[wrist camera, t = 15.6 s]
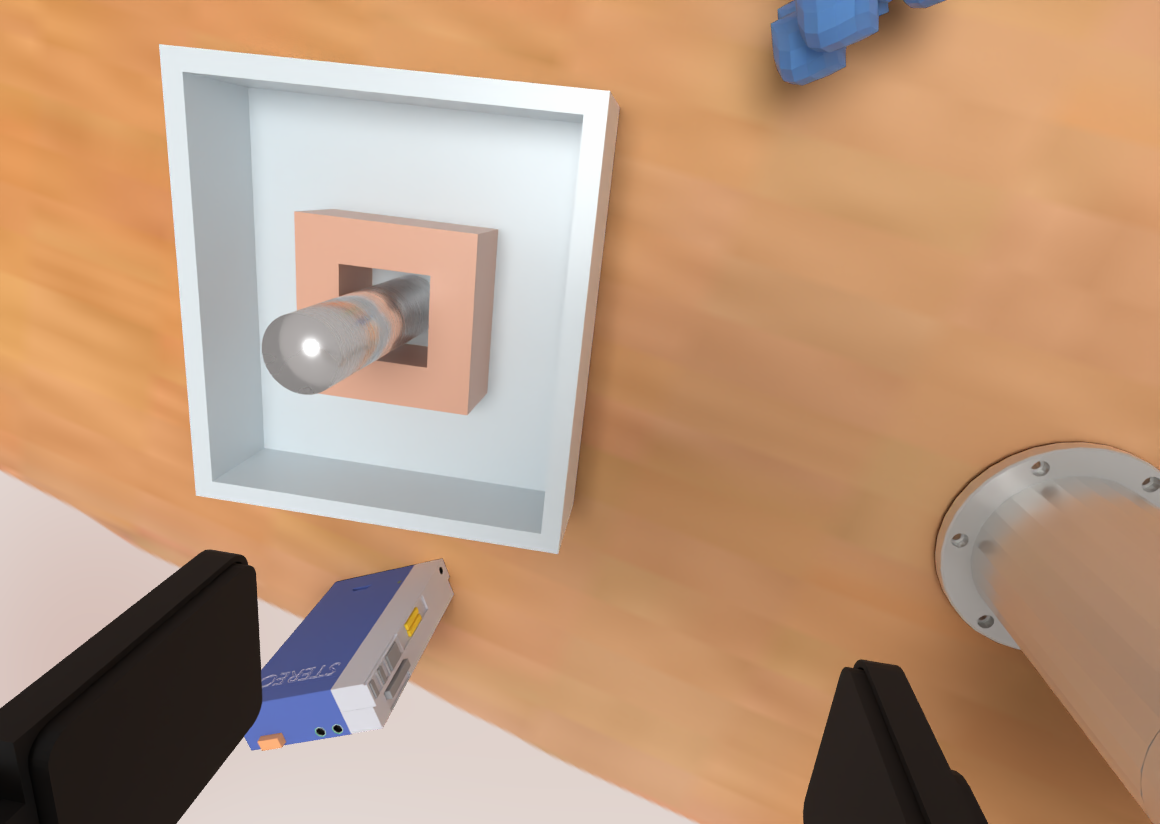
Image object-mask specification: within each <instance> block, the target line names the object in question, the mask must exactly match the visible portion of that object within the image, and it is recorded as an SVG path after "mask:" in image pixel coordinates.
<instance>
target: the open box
mask: <svg viewBox="0 0 1160 824" xmlns="http://www.w3.org/2000/svg"><path fill="white" fill-rule="evenodd" d="M159 48H160V61H161V73H162V85H163V97H164V109H165V122H166V134H167V146H168V158H169V170H170V183H171V195H172V207H173V219H174V231H175V244H176V256H177V268H178V280H179V293H180V305H181V317H182V329H183V341H184V354H185V366H186V378H187V390H188V402H189V415H190V427H191V439H192V451H193V464H194V476H195V488H196V495H197V496H203V497H209V498H215V499H222V500H228V501H234V502H240V503H246V504H252V505H259V506H265V507H271V508H277V509H283V510H289V511H296V512H302V513H308V514H314V515H320V516H326V517H333V518H339V519H345V520H351V521H357V522H363V523H370V524H376V525H382V526H388V527H394V528H400V529H407V530H413V531H419V532H425V533H431V534H437V535H444V536H450V537H456V538H462V539H468V540H474V541H481V542H487V543H493V544H499V545H505V546H511V547H518V548H524V549H530V550H536V551H542V552H548V553H555V554H558V553H559V550H560V546H561V543H562V540H563V537H564V533H565V530H566V527H567V523H568V520H569V517H570V514H571V510H572V507H573V504H574V496H575V487H576V478H577V470H578V461H579V453H580V444H581V436H582V427H583V419H584V410H585V402H586V393H587V385H588V376H589V368H590V359H591V350H592V342H593V333H594V325H595V316H596V308H597V299H598V291H599V282H600V274H601V265H602V257H603V248H604V239H605V231H606V222H607V214H608V205H609V197H610V188H611V180H612V171H613V163H614V154H615V146H616V137H617V129H618V120H619V111H620V106H619V105H618V103H617V102H616V100H615V98H614V97H613V95H612V94H611V92H610V91H604V90H594V89H584V88H575V87H565V86H556V85H546V84H536V83H527V82H517V81H507V80H498V79H488V78H479V77H469V76H459V75H450V74H440V73H431V72H421V71H411V70H402V69H392V68H382V67H373V66H363V65H354V64H344V63H334V62H325V61H315V60H306V59H296V58H286V57H277V56H267V55H257V54H248V53H238V52H229V51H219V50H209V49H200V48H190V47H180V46H171V45H161V44H159ZM404 275H417V276H420V277H422V278H424V279H426V280H427V281H429V282H430V301H429V328H428V330H427V331H425V332H424V333H422V334H420V335H418V336H417V337H415V338H413V339H412V340H410V341H408V342H407V343H405V344H403V345H401V346H400V347H398V348H396V349H395V350H393V351H391V352H389V353H388V354H386V355H384V356H383V357H381V358H379V359H378V360H376V361H374V362H372V363H371V364H369V365H367V366H366V367H364V368H362V369H361V370H359V371H357V372H355V373H354V374H352V375H350V376H349V377H347V378H345V379H343V380H342V381H340V382H338V383H337V384H335V385H333V386H332V387H330V388H328V389H326V390H325V391H323V392H320V393H317V394H312V395H304V394H298V393H295V392H292V391H290V390H288V389H286V388H285V387H283V386H282V385H280V384H279V383H278V382H277V381H276V380H275V379H274V378H273V377H272V375H271V374H270V372H269V371H268V369H267V367H266V365H265V363H264V360H263V355H262V339H263V336H264V333H265V331H266V329H267V327H268V326H269V325H270V323H271V322H272V321H274V320H275V319H276V318H278V317H280V316H282V315H285V314H288V313H291V312H294V311H297V310H300V309H303V308H306V307H309V306H312V305H315V304H318V303H321V302H324V301H327V300H330V299H333V298H336V297H340V296H343V295H346V294H349V293H352V292H355V291H358V290H361V289H364V288H367V287H370V286H373V285H376V284H379V283H382V282H385V281H388V280H391V279H394V278H397V277H400V276H404Z"/></svg>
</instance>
